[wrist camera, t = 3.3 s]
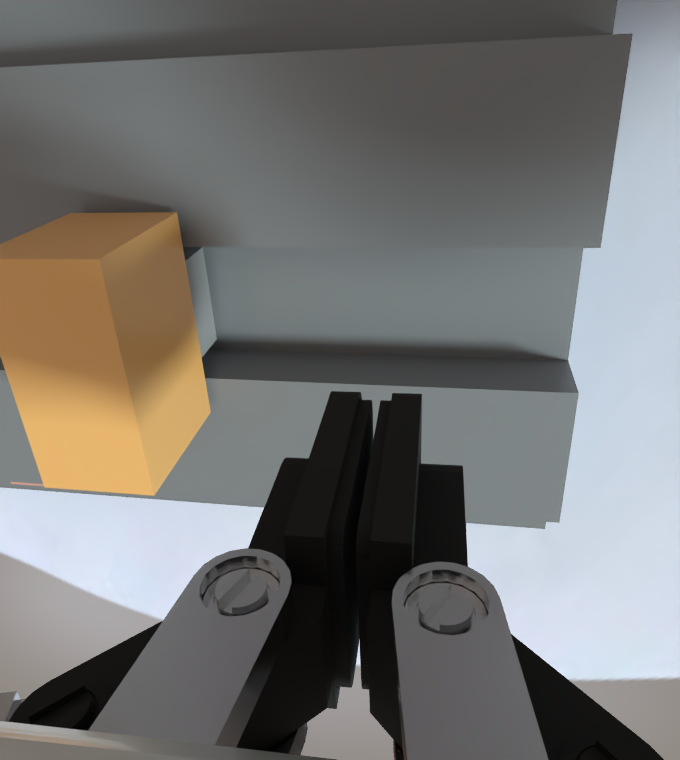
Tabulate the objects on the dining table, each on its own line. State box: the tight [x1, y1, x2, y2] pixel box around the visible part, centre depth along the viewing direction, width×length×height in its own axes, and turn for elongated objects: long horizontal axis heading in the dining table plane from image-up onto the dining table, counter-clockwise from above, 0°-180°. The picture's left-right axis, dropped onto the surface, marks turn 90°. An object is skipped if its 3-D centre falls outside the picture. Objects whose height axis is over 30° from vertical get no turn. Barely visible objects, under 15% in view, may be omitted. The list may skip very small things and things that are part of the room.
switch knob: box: [0, 212, 217, 496], centre depth 17 cm, size 3×6×6 cm, turn 2°
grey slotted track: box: [0, 0, 632, 529], centre depth 20 cm, size 24×17×4 cm
